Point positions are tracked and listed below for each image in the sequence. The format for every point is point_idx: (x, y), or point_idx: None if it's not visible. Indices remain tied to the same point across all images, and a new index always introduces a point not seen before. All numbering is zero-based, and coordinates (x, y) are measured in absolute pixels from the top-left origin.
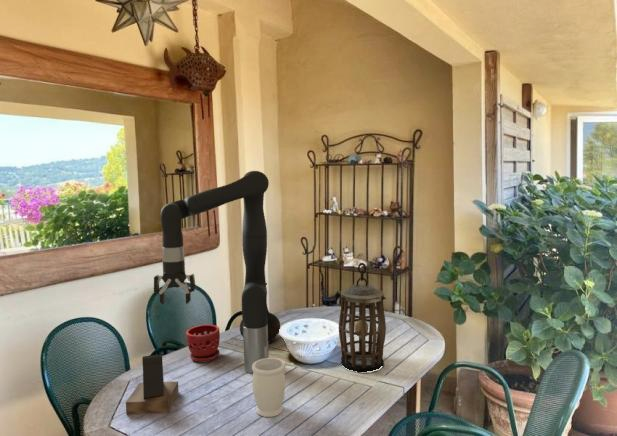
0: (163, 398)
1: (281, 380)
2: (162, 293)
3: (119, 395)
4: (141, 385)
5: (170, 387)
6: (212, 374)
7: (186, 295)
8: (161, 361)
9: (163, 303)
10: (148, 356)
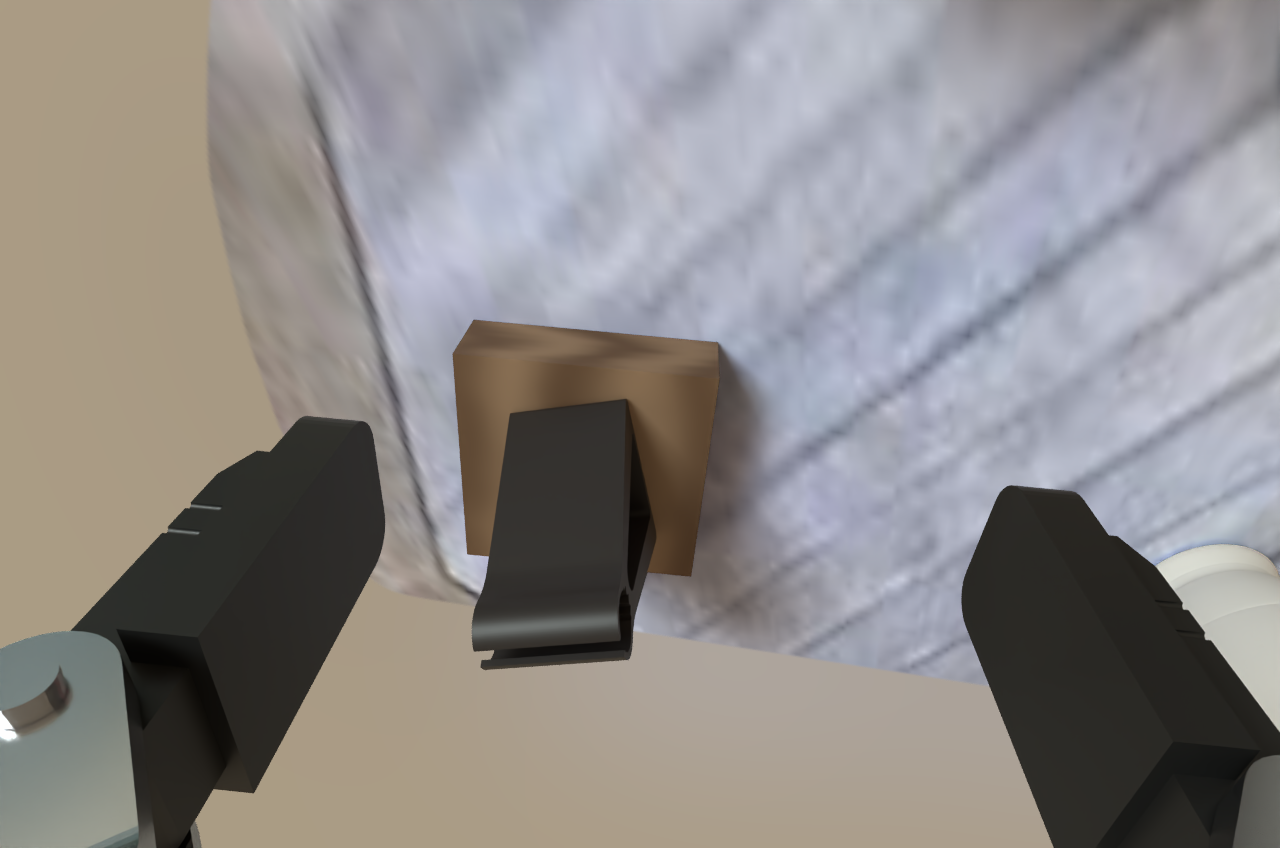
0: (661, 553)
1: None
2: (189, 795)
3: (350, 313)
4: (482, 392)
5: (680, 449)
6: (974, 82)
7: (1076, 828)
8: (627, 640)
9: (372, 560)
10: (518, 645)
